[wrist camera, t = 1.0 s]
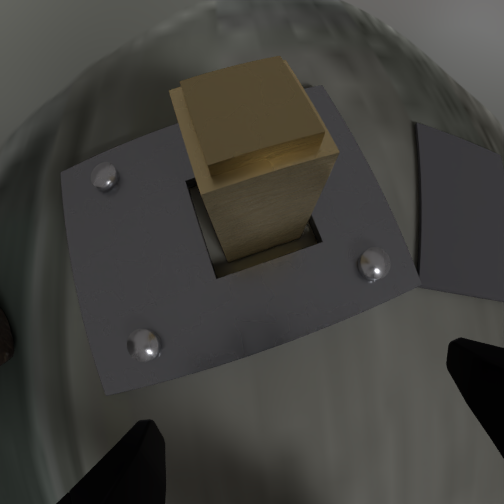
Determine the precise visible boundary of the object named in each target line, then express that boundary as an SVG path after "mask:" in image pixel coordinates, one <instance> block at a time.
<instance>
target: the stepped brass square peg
mask: <svg viewBox="0 0 504 504" xmlns="http://www.w3.org/2000/svg"><path fill="white" fill-rule="evenodd" d="M180 85H181V87H178V88H175V89H172V90H169V93H170V96H171V100H172V103H173V107H174V110H175V113H176V117H177V120H178V123H179V127H180V130H181V133H182V137H183V140H184V143H185V146H186V150H187V153H188V156H189V159H190V162H191V166H192V169H193V172H194V175H195V178H196V182H197V185H198V188H199V191H200V194H201V197H202V199H203V202H204V204H205V207H206V209H207V212H208V214H209V217H210V219H211V222H212V224H213V227H214V229H215V232H216V234H217V236H218V239H219V241H220V244H221V246H222V249H223V251H224V253H225V256H226V258H227V261H228V263H229V262H232V261H234V260H237V259H240V258H243V257H246V256H249V255H252V254H255V253H258V252H260V251H263V250H266V249H269V248H272V247H275V246H278V245H281V244H284V243H287V242H289V241H292V240H295V239H298V238H300V237H301V235H302V233H303V231H304V228H305V226H306V224H307V222H308V220H309V218H310V216H311V214H312V212H313V209H314V207H315V205H316V203H317V201H318V199H319V197H320V195H321V192H322V190H323V188H324V186H325V184H326V182H327V179H328V177H329V175H330V173H331V171H332V168H333V166H334V164H335V162H336V160H337V157H338V155H339V153H340V152H339V150H338V148H337V146H336V144H335V142H334V141H333V139H332V137H331V135H330V133H329V131H328V130H327V128H326V126H325V124H324V122H323V121H322V119H321V117H320V115H319V114H318V112H317V110H316V108H315V107H314V105H313V103H312V102H311V100H310V98H309V97H308V95H307V93H306V92H305V90H304V88H303V87H302V85H301V84H300V82H299V80H298V79H297V77H296V76H295V74H294V72H293V71H292V69H291V68H290V66H289V65H288V63H287V62H286V60H282V58H281V57H280V56H276V57H271V58H266V59H261V60H257V61H252V62H248V63H244V64H239V65H235V66H231V67H227V68H224V69H220V70H216V71H212V72H209V73H205V74H202V75H199V76H195V77H192V78H189V79H186V80H182V81H180Z"/></svg>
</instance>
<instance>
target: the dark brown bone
mask: <svg viewBox="0 0 504 504" xmlns="http://www.w3.org/2000/svg"><path fill="white" fill-rule="evenodd" d="M13 355H14V341H13V337H12V334H11V329H10V326H9V323H8V320H7V318H6V316H5V314H4V312H3V311H2V309H1V308H0V366H1V365H2V364H3V363H5V362H7V361H8V360H9V359H10V358H11V357H13Z"/></svg>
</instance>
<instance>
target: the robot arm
mask: <svg viewBox="0 0 504 504" xmlns="http://www.w3.org/2000/svg"><path fill="white" fill-rule="evenodd" d="M446 365H447V369H448V371H449V373H450V375H451V376H452V378H453V380H454V382H455V383H456V385H457V387H458V389H459V390H460V392H461V394H462V396H463V398H464V400H465V401H466V403H467V405H468V406H469V408H470V409H471V411H472V412H473V413H474V415H475V416H476V418H477V419H478V421H479V422H480V423H481V425H482V426H483V428H484V429H485V431H486V432H487V434H488V435H489V437H490V438H491V440H492V441H493V443H494V444H495V446H496V447H497V449H498V450H499V452H500V454H501V455H502V457H503V458H504V348H502V347H497V346H493V345H489V344H485V343H481V342H477V341H473V340H469V339H465V338H457V339H455V340H453V341H451V342H450V343H449V346H448V354H447V361H446ZM69 492H70V493H67V494H66V495H65V496H64V497H63V498H62V499H61V500H60V501H59V502H57V503H56V504H165V496H166V465H165V441H164V438H163V436H162V434H161V433H160V431H159V429H158V427H157V426H156V424H155V422H154V421H153V420H150V419H149V420H140V421H138V422H137V423H136V424H135V425H134V426H133V427H132V428H131V429H130V430H129V431H128V432H127V433H126V434H125V435H124V436H123V437H122V438H121V440H120V441H119V442H118V443H117V444H116V445H115V446H114V447H113V448H112V449H111V450H110V451H109V452H108V453H107V454H106V455H105V456H104V457H103V458H102V459H101V460H100V461H99V462H98V463H97V464H96V465H95V466H94V467H93V468H92V469H91V470H90V471H89V472H88V473H87V474H86V475H85V476H84V477H83V478H82V479H81V480H80V481H79V482H78V483H77V484H76V485H75V486H74V487H73V488H72V489H71V490H70V491H69Z"/></svg>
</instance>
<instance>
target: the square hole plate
mask: <svg viewBox="0 0 504 504" xmlns="http://www.w3.org/2000/svg"><path fill="white" fill-rule="evenodd" d="M304 90H305V92H306V93H307V95H308V97H309V98H310V100H311V102H312V103H313V105H314V107H315V108H316V110H317V112H318V114H319V115H320V117H321V119H322V121H323V122H324V124H325V126H326V128H327V130H328V131H329V133H330V135H331V137H332V139H333V141H334V142H335V144H336V146H337V148H338V150H339V152H340V153H339V155H338V157H337V160H336V162H335V164H334V166H333V168H332V171H331V173H330V175H329V177H328V179H327V182H326V184H325V186H324V188H323V190H322V192H321V195H320V197H319V199H318V201H317V203H316V205H315V207H314V209H313V212H312V214H311V216H310V218H309V223H310V225H311V227H312V230H313V232H314V235H315V237H316V240H317V242H318V244H316V245H313V246H310V247H307V248H304V249H302V250H299V251H296V252H293V253H290V254H287V255H285V256H282V257H279V258H276V259H273V260H270V261H267V262H265V263H262V264H259V265H256V266H253V267H250V268H247V269H244V270H242V271H239V272H236V273H233V274H230V275H227V276H224V277H221V278H218V279H217V276H216V273H215V270H214V267H213V264H212V261H211V258H210V255H209V252H208V249H207V246H206V243H205V239H204V236H203V233H202V230H201V227H200V224H199V220H198V217H197V214H196V211H195V208H194V204H193V201H192V198H191V195H190V191H189V188H190V187H193V186H196V185H197V182H196V178H195V175H194V172H193V169H192V166H191V162H190V159H189V156H188V153H187V150H186V146H185V143H184V140H183V137H182V133H181V130H180V127H179V123H177V124H174V125H171V126H168V127H165V128H163V129H160V130H157V131H155V132H152V133H149V134H147V135H144V136H141V137H139V138H136V139H134V140H131V141H129V142H126V143H124V144H122V145H119V146H117V147H114V148H112V149H110V150H107V151H105V152H103V153H101V154H98V155H96V156H94V157H92V158H90V159H87V160H85V161H83V162H81V163H79V164H77V165H75V166H73V167H71V168H69V169H67V170H65V171H63V172H61V187H62V199H63V209H64V218H65V226H66V234H67V241H68V247H69V254H70V260H71V265H72V271H73V276H74V281H75V286H76V291H77V296H78V301H79V305H80V309H81V313H82V318H83V322H84V326H85V329H86V333H87V337H88V341H89V344H90V348H91V351H92V355H93V358H94V361H95V365H96V368H97V371H98V374H99V377H100V380H101V383H102V386H103V389H104V392H105V395H106V396H108V395H112V394H116V393H121V392H125V391H129V390H133V389H137V388H141V387H145V386H149V385H153V384H157V383H161V382H164V381H168V380H172V379H175V378H179V377H182V376H186V375H189V374H193V373H196V372H200V371H203V370H206V369H210V368H213V367H216V366H219V365H222V364H226V363H229V362H232V361H235V360H238V359H241V358H244V357H247V356H250V355H253V354H256V353H259V352H261V351H264V350H267V349H270V348H273V347H276V346H278V345H281V344H284V343H287V342H289V341H292V340H295V339H297V338H300V337H302V336H305V335H308V334H310V333H313V332H315V331H318V330H320V329H323V328H325V327H328V326H330V325H333V324H335V323H338V322H340V321H343V320H345V319H347V318H350V317H352V316H354V315H357V314H359V313H361V312H364V311H366V310H368V309H370V308H373V307H375V306H377V305H379V304H382V303H384V302H386V301H388V300H390V299H393V298H395V297H397V296H399V295H401V294H403V293H405V292H407V291H410V290H412V289H414V288H416V287H418V286H420V285H422V284H421V281H420V278H419V276H418V273H417V270H416V268H415V265H414V263H413V260H412V258H411V255H410V253H409V250H408V248H407V245H406V243H405V241H404V238H403V236H402V234H401V231H400V229H399V227H398V224H397V222H396V220H395V218H394V216H393V213H392V211H391V209H390V207H389V205H388V203H387V200H386V198H385V196H384V194H383V192H382V190H381V188H380V186H379V184H378V182H377V180H376V178H375V176H374V174H373V172H372V170H371V168H370V166H369V164H368V163H367V161H366V159H365V157H364V155H363V153H362V151H361V150H360V148H359V146H358V144H357V142H356V140H355V139H354V137H353V135H352V133H351V132H350V130H349V128H348V126H347V125H346V123H345V121H344V120H343V118H342V116H341V115H340V113H339V111H338V110H337V108H336V106H335V105H334V103H333V101H332V100H331V98H330V97H329V95H328V94H327V92H326V90H325V89H324V87H323V86H322V85H321V86H315V87H310V88H305V89H304Z"/></svg>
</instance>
